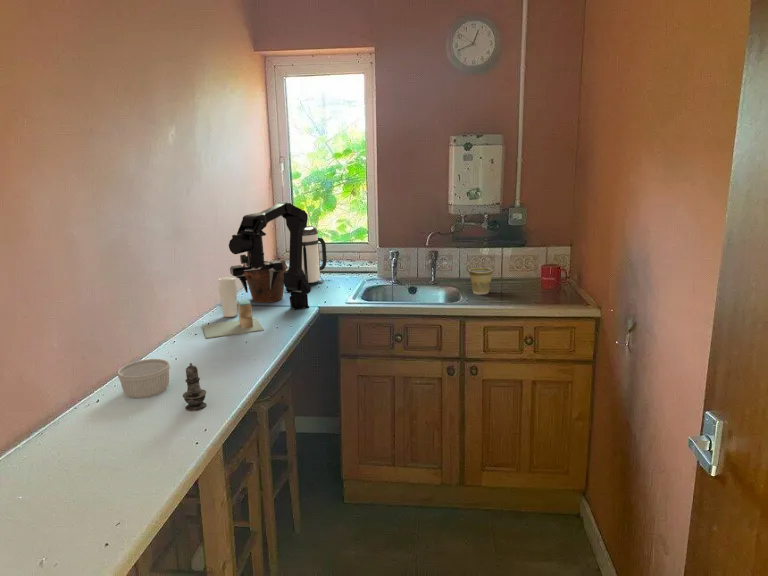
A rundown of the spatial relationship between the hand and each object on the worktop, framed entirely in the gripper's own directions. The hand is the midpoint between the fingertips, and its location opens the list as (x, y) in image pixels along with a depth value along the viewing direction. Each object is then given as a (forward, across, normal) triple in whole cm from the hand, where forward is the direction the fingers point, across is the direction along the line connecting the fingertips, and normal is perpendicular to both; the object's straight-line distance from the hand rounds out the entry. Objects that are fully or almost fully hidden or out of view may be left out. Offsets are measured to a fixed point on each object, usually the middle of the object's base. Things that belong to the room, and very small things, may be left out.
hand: (259, 290), depth 220 cm
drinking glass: (+12, +9, -15) cm, 21 cm away
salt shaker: (+12, +34, +65) cm, 74 cm away
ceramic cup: (+13, -94, +8) cm, 96 cm away
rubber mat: (+12, +11, +2) cm, 17 cm away
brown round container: (+13, -11, -34) cm, 38 cm away
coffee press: (+13, -37, -52) cm, 65 cm away
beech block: (+12, +6, +2) cm, 14 cm away
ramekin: (+12, +44, +47) cm, 66 cm away
